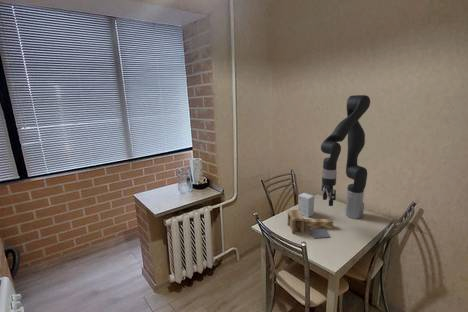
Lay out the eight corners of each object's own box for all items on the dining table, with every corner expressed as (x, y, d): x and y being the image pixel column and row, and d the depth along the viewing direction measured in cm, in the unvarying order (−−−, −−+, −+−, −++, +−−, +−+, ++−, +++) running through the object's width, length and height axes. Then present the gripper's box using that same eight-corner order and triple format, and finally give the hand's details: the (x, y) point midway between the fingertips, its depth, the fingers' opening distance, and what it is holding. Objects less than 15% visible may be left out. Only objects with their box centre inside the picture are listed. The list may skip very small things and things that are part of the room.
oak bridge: (298, 223, 153) (298, 209, 151) (303, 233, 142) (304, 218, 140) (287, 223, 153) (287, 210, 151) (292, 233, 142) (292, 219, 140)
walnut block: (298, 225, 150) (298, 217, 149) (301, 230, 145) (301, 222, 144) (289, 226, 150) (289, 218, 149) (292, 231, 145) (292, 222, 144)
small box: (313, 214, 163) (314, 195, 160) (308, 217, 160) (308, 198, 156) (303, 210, 170) (303, 192, 166) (297, 213, 166) (298, 195, 162)
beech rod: (331, 225, 149) (331, 219, 148) (332, 228, 146) (333, 221, 145) (304, 225, 150) (304, 219, 149) (305, 228, 147) (305, 222, 146)
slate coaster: (324, 228, 146) (324, 227, 146) (330, 237, 137) (330, 236, 137) (308, 229, 145) (308, 228, 145) (314, 238, 137) (314, 237, 137)
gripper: (341, 180, 134) (339, 207, 138) (330, 172, 148) (329, 197, 151) (327, 180, 134) (326, 208, 137) (318, 172, 147) (316, 198, 151)
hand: (327, 202), depth 144 cm, fingers open, 8 cm apart
